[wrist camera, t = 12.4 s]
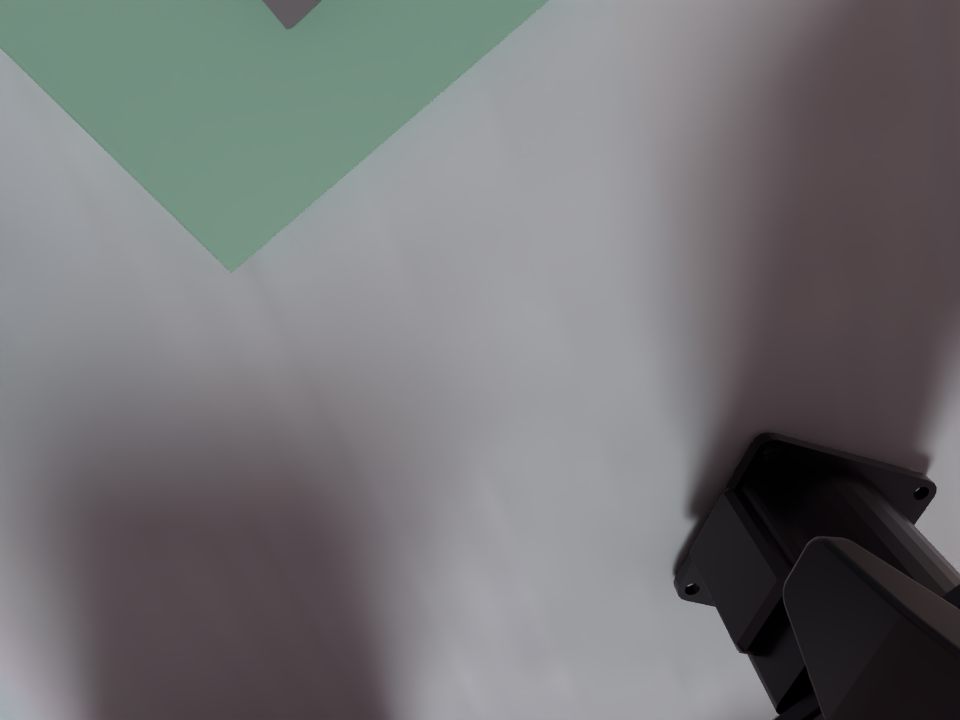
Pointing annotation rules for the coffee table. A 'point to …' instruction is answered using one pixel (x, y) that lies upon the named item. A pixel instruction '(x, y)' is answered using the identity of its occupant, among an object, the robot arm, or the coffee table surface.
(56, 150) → the coffee table surface
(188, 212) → the board
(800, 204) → the coffee table surface
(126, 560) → the coffee table surface
